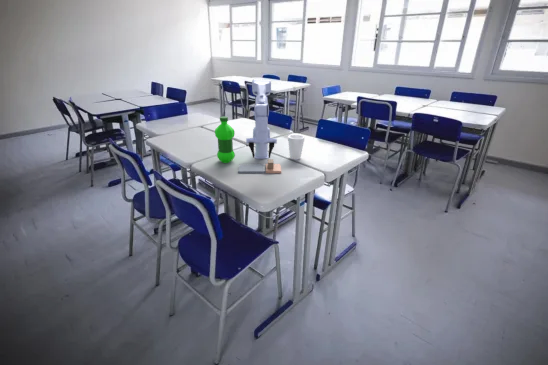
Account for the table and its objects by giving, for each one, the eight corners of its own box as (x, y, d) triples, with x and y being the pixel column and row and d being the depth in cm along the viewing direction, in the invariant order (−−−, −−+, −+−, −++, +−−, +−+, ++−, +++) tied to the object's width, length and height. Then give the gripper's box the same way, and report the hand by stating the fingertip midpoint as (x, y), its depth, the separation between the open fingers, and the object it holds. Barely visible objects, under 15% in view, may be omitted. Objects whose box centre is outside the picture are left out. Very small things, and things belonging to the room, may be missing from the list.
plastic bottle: (224, 156, 166) (222, 114, 155) (239, 160, 162) (237, 116, 151) (213, 162, 159) (209, 117, 148) (227, 166, 154) (225, 120, 143)
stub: (265, 165, 155) (265, 157, 153) (280, 165, 155) (280, 157, 153) (265, 173, 146) (266, 164, 144) (281, 173, 146) (281, 164, 144)
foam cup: (293, 161, 161) (295, 140, 156) (284, 157, 168) (284, 136, 162) (306, 158, 166) (307, 137, 161) (296, 154, 173) (297, 133, 168)
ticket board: (239, 166, 154) (239, 163, 154) (265, 166, 155) (265, 163, 154) (238, 173, 145) (238, 171, 145) (265, 173, 146) (265, 171, 145)
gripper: (245, 132, 129) (246, 160, 135) (277, 132, 129) (276, 160, 135) (246, 128, 135) (247, 154, 141) (276, 128, 136) (275, 155, 142)
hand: (261, 157), depth 139 cm, fingers open, 7 cm apart
